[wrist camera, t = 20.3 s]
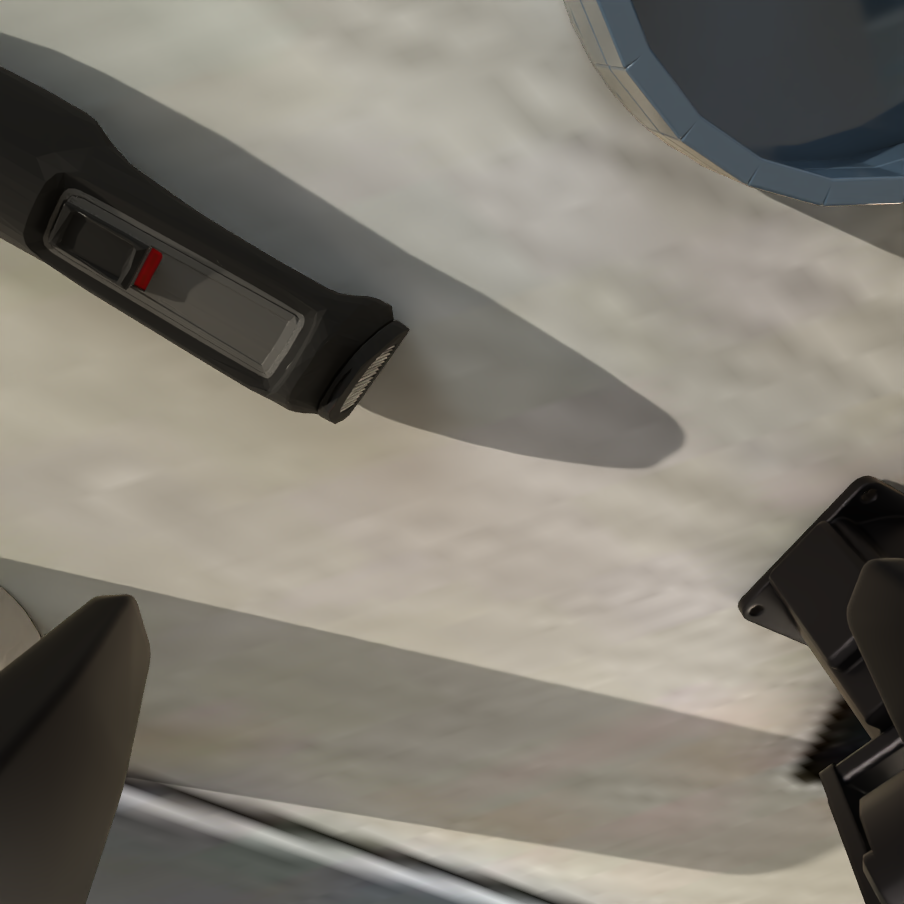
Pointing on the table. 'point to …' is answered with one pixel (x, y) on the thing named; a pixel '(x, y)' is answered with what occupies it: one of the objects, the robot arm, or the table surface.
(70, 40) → the table surface
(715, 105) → the bowl
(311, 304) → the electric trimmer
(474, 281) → the table surface
